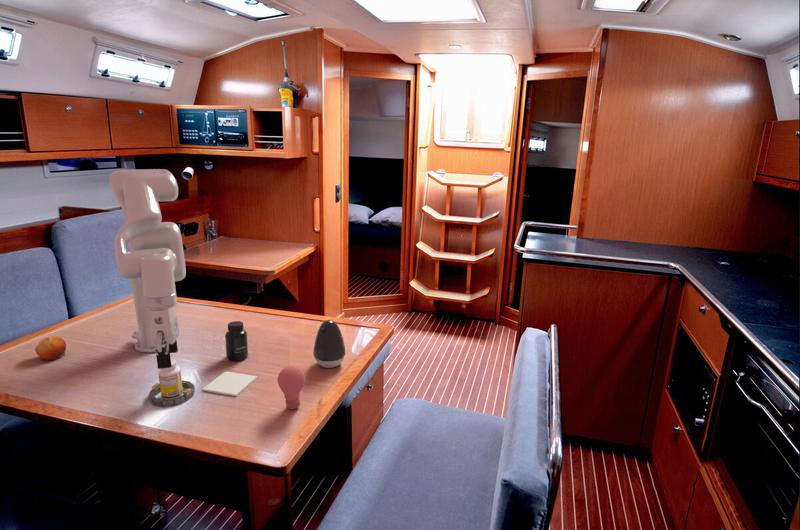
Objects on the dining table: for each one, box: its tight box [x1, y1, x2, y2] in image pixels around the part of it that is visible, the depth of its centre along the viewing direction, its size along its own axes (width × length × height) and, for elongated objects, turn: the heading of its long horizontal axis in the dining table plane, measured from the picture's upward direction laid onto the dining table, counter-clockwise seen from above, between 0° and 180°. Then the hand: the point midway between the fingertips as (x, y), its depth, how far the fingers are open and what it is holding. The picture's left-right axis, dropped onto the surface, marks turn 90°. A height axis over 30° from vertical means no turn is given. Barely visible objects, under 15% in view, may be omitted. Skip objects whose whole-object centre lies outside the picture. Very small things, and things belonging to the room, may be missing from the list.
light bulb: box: [277, 365, 306, 410], centre depth 126 cm, size 7×7×12 cm
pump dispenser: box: [313, 319, 346, 369], centre depth 150 cm, size 10×10×15 cm
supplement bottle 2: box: [224, 320, 249, 362], centre depth 154 cm, size 7×7×12 cm
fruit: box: [34, 335, 67, 361], centre depth 152 cm, size 8×8×8 cm
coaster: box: [202, 371, 258, 397], centre depth 138 cm, size 11×11×1 cm
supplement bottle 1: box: [157, 359, 184, 400], centre depth 130 cm, size 6×6×10 cm
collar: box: [147, 380, 196, 408], centre depth 131 cm, size 11×11×2 cm
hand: (168, 359), depth 128 cm, fingers open, 9 cm apart
